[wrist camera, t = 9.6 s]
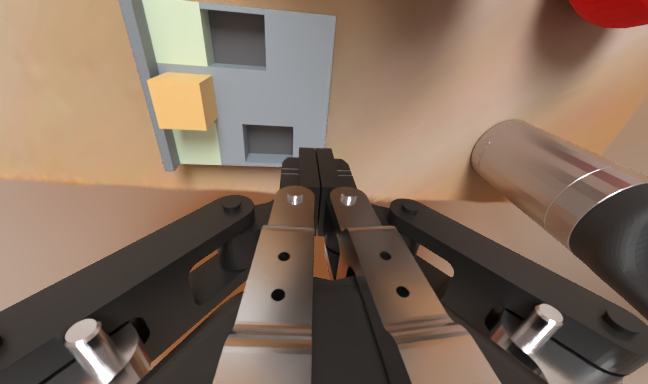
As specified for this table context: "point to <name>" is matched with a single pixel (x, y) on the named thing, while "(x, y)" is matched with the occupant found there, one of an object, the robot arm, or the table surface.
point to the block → (183, 100)
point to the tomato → (612, 12)
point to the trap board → (238, 77)
